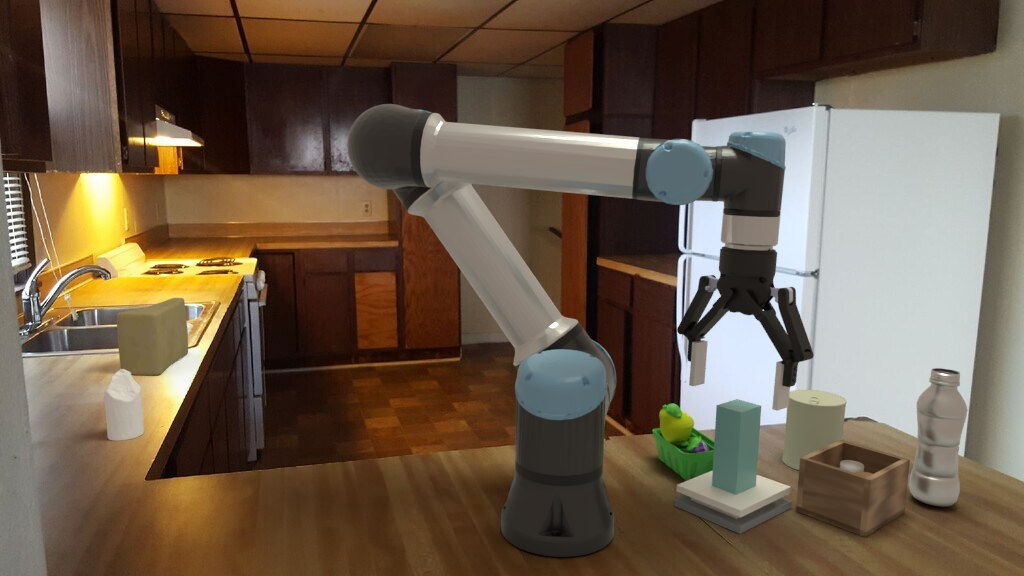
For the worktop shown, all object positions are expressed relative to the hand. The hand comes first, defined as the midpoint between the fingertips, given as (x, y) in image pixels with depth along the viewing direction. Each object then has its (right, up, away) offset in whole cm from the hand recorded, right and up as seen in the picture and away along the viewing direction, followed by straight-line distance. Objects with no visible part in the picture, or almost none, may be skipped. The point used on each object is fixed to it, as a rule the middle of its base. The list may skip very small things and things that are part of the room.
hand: (736, 396), depth 106 cm
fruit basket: (-4, -14, +16) cm, 22 cm away
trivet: (0, -16, +2) cm, 17 cm away
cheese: (-117, -3, +77) cm, 140 cm away
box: (+17, -17, +1) cm, 24 cm away
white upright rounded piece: (-101, -11, +28) cm, 105 cm away
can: (+18, -14, +19) cm, 30 cm away
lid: (0, -15, +2) cm, 16 cm away
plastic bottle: (+31, -17, +5) cm, 35 cm away
